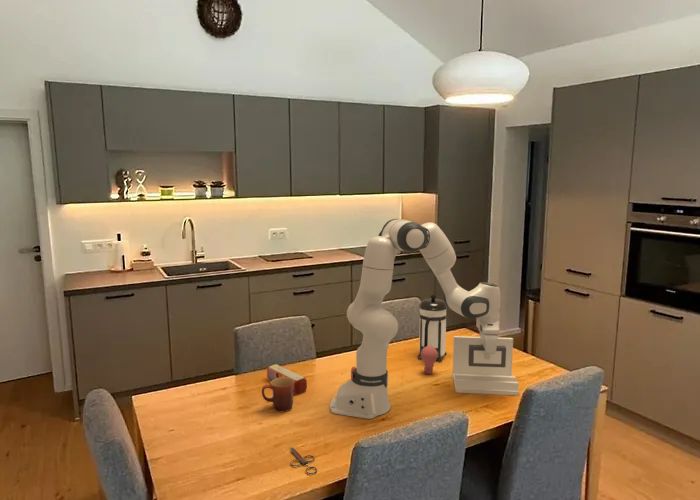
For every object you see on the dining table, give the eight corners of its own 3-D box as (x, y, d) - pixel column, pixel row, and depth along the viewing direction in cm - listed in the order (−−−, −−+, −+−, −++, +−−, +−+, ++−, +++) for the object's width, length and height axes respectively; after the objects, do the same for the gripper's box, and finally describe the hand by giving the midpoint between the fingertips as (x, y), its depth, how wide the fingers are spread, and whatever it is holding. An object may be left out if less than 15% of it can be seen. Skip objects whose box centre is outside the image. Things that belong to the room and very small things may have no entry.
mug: (292, 401, 195) (292, 375, 193) (296, 411, 187) (296, 385, 185) (261, 405, 192) (260, 379, 190) (263, 416, 184) (262, 389, 182)
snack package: (265, 380, 215) (265, 365, 214) (278, 376, 219) (278, 361, 218) (294, 397, 199) (294, 380, 198) (308, 392, 203) (307, 376, 202)
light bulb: (436, 370, 224) (437, 343, 222) (437, 376, 217) (438, 349, 215) (420, 369, 224) (420, 343, 222) (420, 376, 217) (421, 349, 215)
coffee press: (408, 353, 244) (409, 292, 239) (439, 349, 248) (440, 289, 244) (424, 366, 227) (425, 301, 223) (456, 362, 232) (458, 298, 227)
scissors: (299, 444, 166) (298, 439, 166) (325, 472, 151) (325, 466, 150) (277, 451, 162) (276, 446, 162) (302, 480, 147) (301, 475, 147)
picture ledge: (455, 392, 202) (456, 350, 199) (452, 375, 218) (453, 335, 215) (518, 395, 199) (520, 352, 196) (510, 377, 215) (512, 337, 213)
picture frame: (469, 366, 203) (469, 347, 201) (468, 363, 205) (468, 344, 204) (505, 367, 201) (506, 348, 199) (504, 364, 204) (504, 345, 202)
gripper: (476, 315, 211) (475, 347, 213) (483, 331, 191) (481, 366, 193) (492, 315, 210) (491, 347, 212) (500, 331, 190) (499, 366, 192)
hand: (486, 356), depth 202 cm, fingers closed on picture frame, 3 cm apart
